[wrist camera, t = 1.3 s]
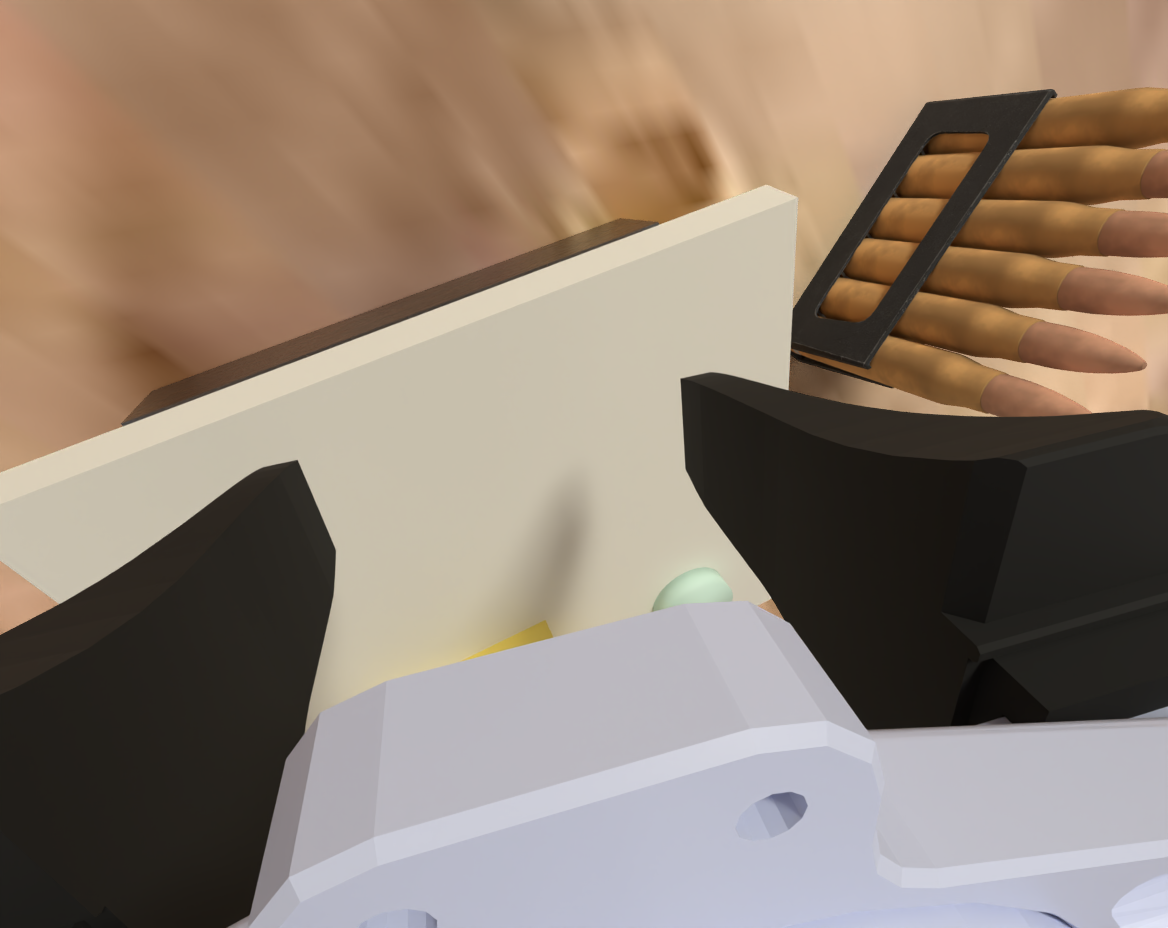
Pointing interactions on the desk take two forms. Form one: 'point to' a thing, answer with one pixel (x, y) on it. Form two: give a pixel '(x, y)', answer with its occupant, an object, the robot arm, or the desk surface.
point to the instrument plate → (466, 453)
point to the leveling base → (381, 318)
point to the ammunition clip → (994, 249)
